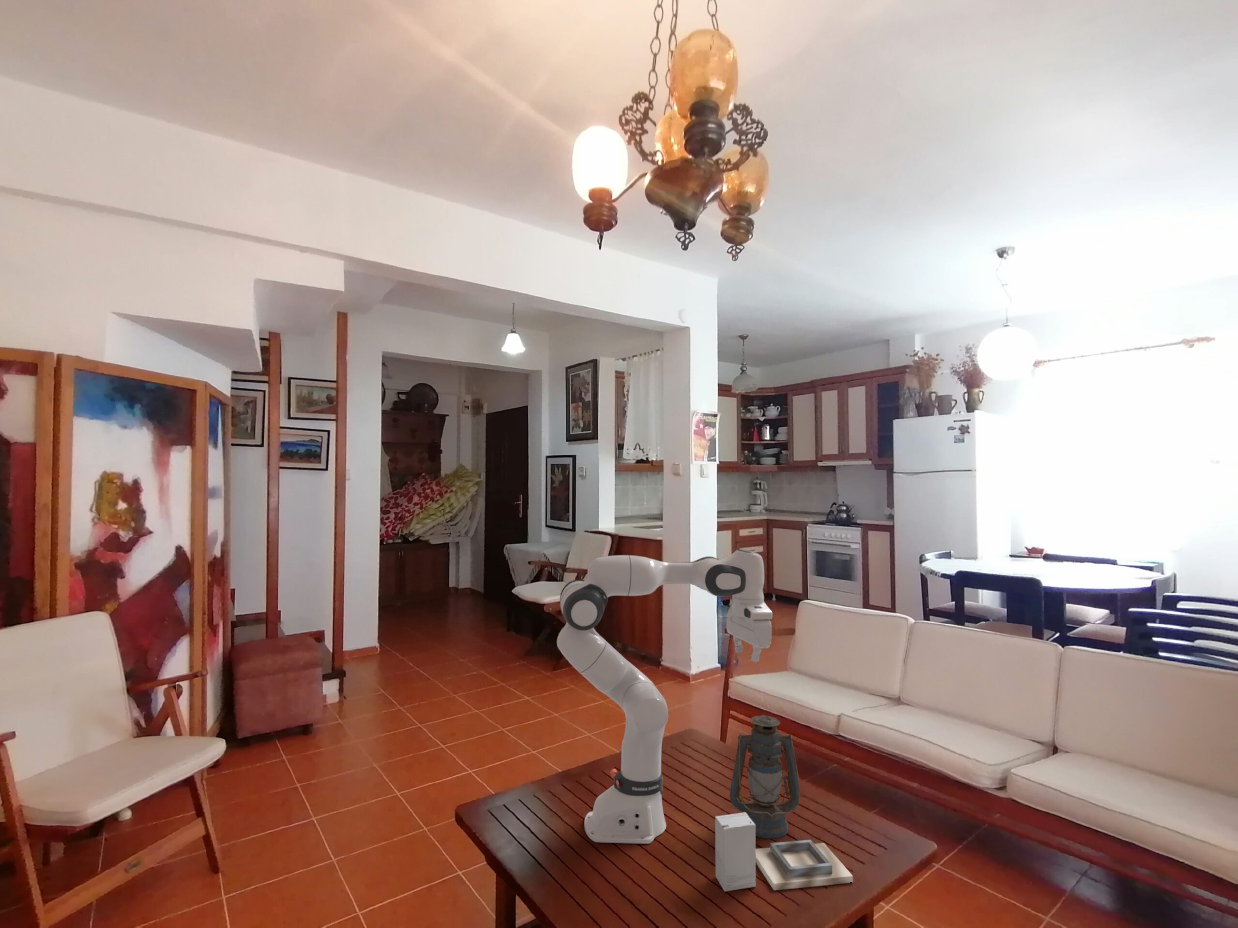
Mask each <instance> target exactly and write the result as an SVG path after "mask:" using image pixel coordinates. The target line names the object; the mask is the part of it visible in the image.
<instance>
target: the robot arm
mask: <svg viewBox="0 0 1238 928" xmlns="http://www.w3.org/2000/svg"><path fill="white" fill-rule="evenodd" d="M764 584H765V563H764V560H763V557H762V555H761V554H760V553H758V552H755V551H751V550H747V549H736V550H735V551H734V552H733V553H731V554H730V555H727V556H726V557H723V558H722V559H719V558H717V557H714V556H704V557H701V558H697V559H696V560H693V561H688V562H687V561H686V562H679V561H675V562H674V561H670V562H669V561H660V560H657V559H654V558H649V557H646V556H639V555H631V554H630V555H628V554H627V555H626V554H623V555H622V554H621V555H618V554H617V555H606V556H600V557H596V558H594V559H593V560H592V561H590V564H589V566H588V568H587V576H586V578H585V580H584V579H574V580H571V581H568V582H567V583H566V584H565V585H564V586H563V588H562V589H561V593H560V594H559V596H560V597H559V603H560V605H559V606H560V611H561V613H562V615H563V618H564V620H565V622H566V623H565V625H564V626H563V627H562V628H561V630H560V632H559V633H558V636H557V639H556V645H557V648H558V650H559V651H560V653H561V654H562V655H563V657H564V658H565V660H567V661H568V663H569V664H570V665H571V666H572V667H573V668H574V669H575V670H576V671H577V672H578V673H579V674H580V675H581V676H582V677H584V678H585V679H586V680H587V681H588V682H589V684H591V685H592V686H593V687H595V689H597V691H599V692H601V693H602V694H604V695H605V696H607V697H608V698H609V699H611V700H612V701H613V702H615V703H616V704H617V706H619V707H620V708H621V709H622V711H623V712H624V716H625V729H624V735H623V740H622V742H621V754H620V755H621V759H620V760H621V761H620V762H621V764H620V766H621V767H620V770H619V771H618V770H617V769H616V768H612V769H611V771H609V773H610V777H611V779H613V785H612V786H610V787H608V789H606V790H604V792H602V793H601V794H600V795H599V796H597V797H596V799H595V801H594V805H593V809H592V811H588V812H587V814H585V818H584V823H583V825H584V826H583V827H584V831H585V834H586V835H587V836H588V838H589V839H590V840H591V841H593V842H594V843H611V844H612V843H614V844H616V843H617V844H644V845H645V844H647V845H649V844H651V843H652V842H653V841H654V839H655V838H656V837H658V836H659V835H661V834H663V833H664V832H665V830H666V828H667V822H666V818H665V815H664V814H665V813H664V808H663V801H662V800H663V799H662V795H663V790H664V778H663V776H664V775H663V773H662V744H663V739H664V733H665V728H666V726H667V722H668V719H669V708H668V704H667V701H666V699H665V698H664V696H663V695H662V694H661V692H660V691H659V689H658V688H657V686H656V685H655V684H654V683H653V681H652V680H651V679H649V677H648V676H647V675H645V674H644V673H643V672H642V671H641V670H639V668H637V667H636V666H635V665H634V664H632V663H631V662H630V661H628V659H626V658H625V657H624V656H623V655H622V654H621V653H619V651H618V650H616V649H615V648H614V647H613V645H611V644H610V643H609V642H608V641H606V639H605V638H604V637H602V636H601V635H600V634H599V633H598V632H597V631H596V629H595V628H594V627H596V626H597V625H598V624H599V623H600V621H601V619H602V617H603V615H604V612H605V608H606V606H607V605H608V601H609V600H608V599H609V597H614V596H621V597H622V596H625V597H628V596H629V597H637V596H645V595H651V594H652V593H654V592H656V590H657V589H658V588H659V587H660V586H664V585H692V586H696V588H697V587H698V588H699V589H701V590H704V591H706V592H707V593H709V594H711V595H712V596H715V597H717V598H719V597H728V596H731V598H732V599H731V604H730V607H729V609H728V611H727V614H726V615H727V616H726V628H725V629H726V632H727V633H728V634H730V635H731V636H732V637H733V642H734V645H735V646H734V649H735V653H738V654H741V653H742V654H743V653H744V646H743V644H742V641H743V642H746V643H747V644H749V645H751V646H752V650H753V652H752V653H751V654H750V660H751V661H752V662H754V663H758V662H760V655H761V653H762V650H763V649H769V648H770V646H771V644H772V628H773V627H772V626H773V625H772V621H771V620H772V619H773V611H772V610H771V609H770V607H768V605H767V604H766V602H765V596H764V590H763V589H764Z"/></svg>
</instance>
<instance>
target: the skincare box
mask: <svg viewBox="0 0 1238 928" xmlns="http://www.w3.org/2000/svg"><path fill="white" fill-rule="evenodd" d="M714 817H715V819H714V824H715V825H714V826H715V827H714V829H715V831H714V832H715V833H714V835H715V840H714V841H715V843H714V844H715V845H714V847H715V848H714V849H715V877H716V880H717V881H718V883H719V885H720V887H721V888H722V890H723V891H724V892H730V891H736V890H737V891H738V890H742V889H749V888H754V887H757V886H756V885H757V884H756V883H757V882H756V881H757V877H756V876H757V875H756V873H757V872H756V871H757V870H756V866H757V864H756V849H757V848H756V843H757V842H756V837H757V836H756V835H755V830H756V825H755V824H754V822H753V821H752V820H751V819H750V818H749V816H748V815H747V813H746V812H738V813H737V812H736V813H731V814H724V815H715V816H714Z"/></svg>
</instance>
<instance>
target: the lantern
mask: <svg viewBox="0 0 1238 928" xmlns="http://www.w3.org/2000/svg"><path fill="white" fill-rule="evenodd" d="M750 721H751V723H752V724H754V725H753V727H752V728H751V734H742V733H741V732H740V733H739V735H738V737H737V739H738V740H737V748H736V753H735V762H734V767H733V772H732V779H731V782H730V783H731V784H730V788H729V789H730V791H729V800H730V803H731V804H732V805H733V807H734V808H735V809H737V810H739V811H740V812H741V813H743V812H746V813H747V815H748V816H749V818H750V819H751V820H752V821H753V822H754V824H755V825H756V830H755V835H756V837H758V838H763V839H778V838H779V839H781V838H782V837H784V836H786V835H787V834H788V831H789V824H788V820H787V819H786V814H790V813H791V814H792V813H793V812H794V811H795V810H797V808H798V806H799V804H800V803H801V788H800V777H799V772H798V765H797V759H796V754H795V749H794V745H793V744H794V743H793V740H794V738H793V736H792V734H791V733H789V734H788V735H787V734H785V735H784V734H783V735H782V734H780V733H781V732H780V730H778V728H777V727H778V726H780V724H781V721H780V720H779V719H778V718H777V717H774V716H770V715H766V714H761V715H755V716H752V717H751V718H750ZM747 752H748V753H749V754H751V755H750V757H749V759H748V763H747V766H748V768H747V779H748V786H749V795H746V798H748V799H751V800H750V801H747V802H746V801H745V800H744V799H743V793H742V789H741V788H742V787H741V786H742V778H743V773H744V767H745V761H746V754H747ZM783 754H784V758H785V759H784V760H785V765H786V772H787V773H786V774H787V775H786V774H785V775H784V771H783V766H782V761H781V759H780V758H782V757H783ZM782 785H783V786H784V791H785V792H784V793H783V798H782V801H779V799H780V798H781V796H780V793H781V791H782ZM785 796H786V797H788V796H790V797H789V798H788V799H787V800H786V801H784V800H785Z"/></svg>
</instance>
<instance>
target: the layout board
mask: <svg viewBox="0 0 1238 928" xmlns="http://www.w3.org/2000/svg"><path fill="white" fill-rule="evenodd" d="M756 866H757V867H758V869H759V870H760V872H761V873H762V875H763V876H764V878H765V879H766V880H767V882H768V884H769V886H771V888H772V890H773V891H781V890H790V889H801V888H809V887H811V888H812V887H819V886H820V887H822V886H830V885H831V886H832V885H840V884H841V885H842V884H850V882H852V883H854V876H853V874H852V873H851V872H850V871H849V870H848V869H847V868H846V866H845V865H844V864H843V863H842V862H841V861H840V860H839V858H838V857H837V856H836V855H835V854H834V853H833V852H832V850H830V848H829V847H828V846H827V845H826V844H825V842H823V843H822V842H819V843H814V842H813V841H812V840H811V839H804V840H791V841H782V842H781V841H780V842H779V841H778V842H770V843H769V847H761V848H756Z"/></svg>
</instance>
